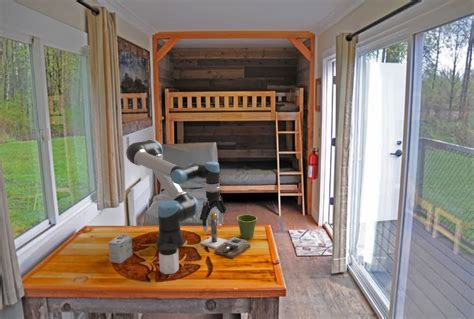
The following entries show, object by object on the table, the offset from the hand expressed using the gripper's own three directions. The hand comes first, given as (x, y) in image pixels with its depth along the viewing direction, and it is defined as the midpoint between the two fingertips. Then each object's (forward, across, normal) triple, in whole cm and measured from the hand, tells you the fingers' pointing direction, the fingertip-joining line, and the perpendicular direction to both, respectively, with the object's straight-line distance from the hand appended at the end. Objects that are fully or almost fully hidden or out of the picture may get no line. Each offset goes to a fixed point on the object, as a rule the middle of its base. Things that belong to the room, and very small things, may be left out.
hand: (213, 227), depth 209 cm
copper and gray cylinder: (+8, 0, 0) cm, 8 cm away
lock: (+9, -2, -14) cm, 17 cm away
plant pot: (+9, +18, -10) cm, 23 cm away
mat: (+9, 0, 0) cm, 9 cm away
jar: (+9, -37, -2) cm, 38 cm away
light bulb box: (+10, -41, +28) cm, 50 cm away
